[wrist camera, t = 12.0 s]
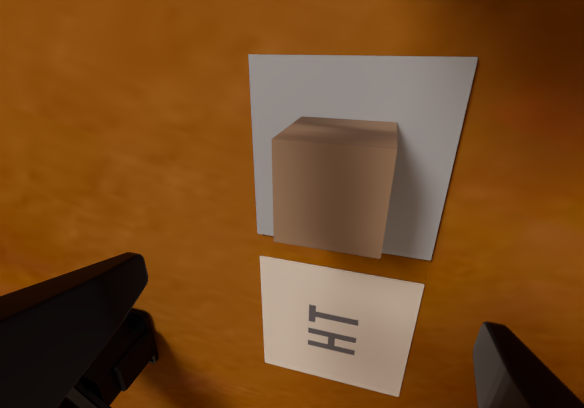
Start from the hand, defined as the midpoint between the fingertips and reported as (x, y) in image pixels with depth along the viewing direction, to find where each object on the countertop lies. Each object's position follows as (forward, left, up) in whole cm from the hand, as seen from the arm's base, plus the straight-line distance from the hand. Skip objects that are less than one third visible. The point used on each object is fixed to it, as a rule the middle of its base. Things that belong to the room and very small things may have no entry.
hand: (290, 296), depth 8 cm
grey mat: (0, 0, -12) cm, 12 cm away
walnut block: (0, 0, -11) cm, 11 cm away
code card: (0, -13, -12) cm, 17 cm away
